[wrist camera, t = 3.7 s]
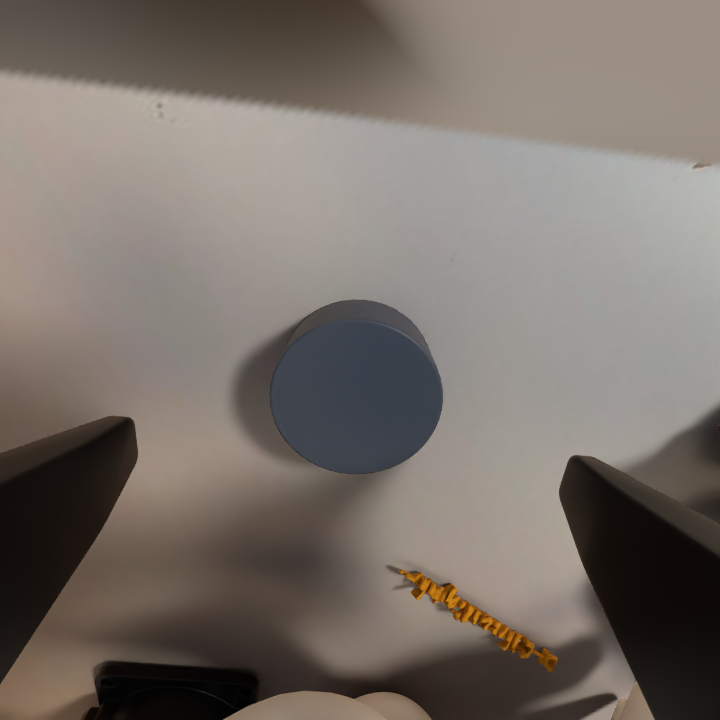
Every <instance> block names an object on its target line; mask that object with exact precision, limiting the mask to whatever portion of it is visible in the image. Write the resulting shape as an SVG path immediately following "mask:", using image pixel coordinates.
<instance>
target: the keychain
mask: <svg viewBox="0 0 720 720" xmlns="http://www.w3.org/2000/svg"><path fill="white" fill-rule="evenodd" d="M399 573H401V574H403V575H405V577H406V578H408V579H409V580H411V581H412V582H415V585H416V586H418V587H419V588H417V589H414V590H412V591H411V594H412V595H413V596H414V597H415V598H416V599H417V600H419V599H420V598H421V596H422V595H423V594H424V593H425V592H427V594H428V595H430V596H431V598H433V600H432V602H433V603H434V604H435V603H436V602H437V601H439V602H442V601H443V603H444V604H445V605H446V606H447V607H448V608H450V611H451V612H452V613H453V614H454V616H453V617H454V619H455V620H456V621H458V620H459V619H460V622H461V623H463V622H468V620H469V621H470V622H471V623H472V624H473V625H475V623H476V621H477V620H478V619H479V620H478V622H477V623H478V624H479V625H480V626H481V627H482V628H483V629H484V630H487V629H488V630H489V631H490V632H491V633H492V634H493V635H494V636H496V635H497V637H498V638H501V637H502V638H504V639H505V640H506V641H504V640H501V641H499V642H498V643H497V645H498V646H499V647H500V648H501V649H502V650H504V651H505V650H506V649H507V648H508V649H509V650H510V651H511V652H512V653H514V651H518V652H519V655H520V658H522V659H524V658H525V657H526V658H528V657H529V656H530V654H531V653H533V654H535V655H537V656H538V657H539V658H538V662H539V663H540V664H542V665H544V667H545V668H546V669H547V670H548V671H549V672H552V671H553V669H554V667H555V664H556V662H557V660H558V659H557V657H555V656H554V655H551V653H550V652H549V651H548V650H547V649H545V648H543V650H542V652H541V654H540V653H539V652H537V651H536V650H535V649H534V644H533V643H531V641H530V640H529V639H528V638H526V637H525V636H524V635H522V634H518V633H517V632H516V631H514V630H513V631H511V630H510V629H509V627H508V626H507V625H503V624H501V622H499V621H498V620H496V619H495V618H492V617H491V616H489V615H488V614H487V613H486V612H481V611H480V610H479V609H478V608H477V607H476V606H472V605H471V604H470V603H469V602H467V601H466V600H465V601H462V600H461V599H460V597H459V596H458V595H456V594H455V593H456V592H457V588H456V587H454V586H453V585H452V584H450V585H448V586H445V587H444V588H443V587H442V586H439V587H437V585H436V584H435V583H434V582H433V583H432V580H431V579H427V578H426V577H424V578H423V574H422V573H413V574H410V573H408V572H406V571H404V570H400V571H399ZM456 606H457V607H458V608H459V609H460V610H459V611H458V612H457V611H456V610H455V609H453V607H456ZM480 618H481V619H480ZM519 640H521V643H518V642H519ZM526 651H527V654H526Z"/></svg>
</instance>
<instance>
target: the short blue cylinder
mask: <svg viewBox="0 0 720 720" xmlns="http://www.w3.org/2000/svg"><path fill="white" fill-rule="evenodd" d="M442 403H443V389H442V383H441V378H440V375H439V373H438V370H437V367H436V365H435V362H434V360H433V357H432V355H431V353H430V350H429V348H428V345H427V343H426V341H425V339H424V337H423V335H422V334H421V333H420V331H419V330H418V328H417V327H416V326H415V325H414V324H413V323H412V322H411V321H410V320H409V319H408V318H407V317H406V316H404V315H403V314H402V313H400V312H398V311H397V310H395V309H393V308H391V307H389V306H386V305H384V304H381V303H377V302H373V301H367V300H347V301H341V302H336V303H333V304H330V305H327V306H325V307H323V308H321V309H319V310H317V311H315V312H314V313H312V314H311V315H310V316H308V317H307V318H306V319H305V320H304V321H303V322H302V323H301V324H300V325H299V326H298V327H297V328H296V330H295V331H294V332H293V334H292V336H291V337H290V339H289V341H288V343H287V345H286V347H285V349H284V351H283V353H282V355H281V357H280V359H279V361H278V363H277V365H276V367H275V370H274V372H273V376H272V380H271V384H270V406H271V411H272V415H273V418H274V421H275V424H276V426H277V428H278V430H279V432H280V433H281V435H282V436H283V438H284V439H285V441H286V442H287V443H288V444H289V445H290V446H291V447H292V449H293V450H295V451H296V452H297V453H298V454H299V455H300V456H302V457H303V458H305V459H306V460H308V461H309V462H311V463H313V464H315V465H317V466H319V467H322V468H325V469H327V470H331V471H335V472H339V473H346V474H367V473H374V472H379V471H383V470H386V469H389V468H392V467H394V466H396V465H398V464H400V463H402V462H404V461H405V460H407V459H409V458H410V457H411V456H413V455H414V454H415V453H417V452H418V451H419V450H420V449H421V448H422V447H423V446H424V444H425V443H426V442H427V441H428V439H429V438H430V436H431V435H432V433H433V431H434V430H435V428H436V425H437V423H438V421H439V418H440V414H441V410H442Z"/></svg>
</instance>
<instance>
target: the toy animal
mask: <svg viewBox="0 0 720 720" xmlns="http://www.w3.org/2000/svg"><path fill="white" fill-rule="evenodd" d="M223 720H432V719H431V718H430V716H429V715H428V714H427V713H426V712H425V711H424V710H423V709H422V708H421V707H420V706H419V705H418V704H417V703H415V702H414V701H412V700H411V699H409V698H407V697H405V696H403V695H400V694H396V693H391V692H377V693H371V694H366V695H363V696H360V697H358V698H355V699H352V698H349V697H346V696H342V695H338V694H335V693H329V692H315V691H299V692H292V693H285V694H279V695H276V696H274V697H271V698H268V699H265V700H263V701H260V702H257V703H255V704H252V705H250V706H247V707H245V708H244V709H242V710H240V711H238V712H236V713H234V714H232V715H231V716H229V717H227V718H225V719H223ZM611 720H654V718H653V716H652V713H651V711H650V709H649V707H648V705H647V703H646V700H645V698H644V696H643V694H642V692H641V690H640V688H639V685H638V683H637V681H636V680H635V683H634V685H633V687H632V690H631V692H630V695H629V697H628V699H627V700H626V699H621V700H620V701H619V702H618V704H617V707H616V709H615V711H614V714H613V716H612V719H611Z"/></svg>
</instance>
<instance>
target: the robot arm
mask: <svg viewBox="0 0 720 720" xmlns="http://www.w3.org/2000/svg"><path fill="white" fill-rule="evenodd" d="M137 458H138V448H137V439H136V431H135V424H134V421H133V420H132V419H131V418H129V417H121V416H108V417H105V418H102V419H99V420H96V421H93V422H90V423H87V424H84V425H82V426H79V427H76V428H73V429H70V430H67V431H64V432H61V433H58V434H55V435H52V436H49V437H47V438H44V439H41V440H38V441H35V442H32V443H29V444H26V445H23V446H20V447H17V448H14V449H12V450H9V451H6V452H3V453H0V684H1V682H2V681H3V679H4V678H5V676H6V675H7V673H8V671H9V670H10V668H11V667H12V665H13V664H14V662H15V661H16V659H17V658H18V656H19V655H20V653H21V652H22V650H23V649H24V647H25V646H26V644H27V643H28V641H29V640H30V638H31V637H32V635H33V633H34V632H35V630H36V629H37V627H38V626H39V624H40V623H41V621H42V620H43V618H44V617H45V615H46V614H47V612H48V611H49V609H50V608H51V606H52V605H53V603H54V602H55V600H56V599H57V597H58V596H59V594H60V592H61V591H62V589H63V588H64V586H65V585H66V583H67V582H68V580H69V579H70V577H71V576H72V574H73V573H74V571H75V570H76V568H77V567H78V565H79V564H80V562H81V561H82V559H83V558H84V556H85V554H86V553H87V551H88V550H89V548H90V547H91V545H92V544H93V542H94V541H95V539H96V538H97V536H98V534H99V533H100V531H101V530H102V528H103V526H104V524H105V522H106V521H107V519H108V517H109V515H110V513H111V511H112V509H113V507H114V505H115V503H116V501H117V499H118V498H119V496H120V494H121V492H122V490H123V488H124V486H125V484H126V482H127V480H128V478H129V476H130V474H131V472H132V470H133V468H134V467H135V464H136V462H137ZM559 496H560V501H561V504H562V507H563V510H564V512H565V515H566V518H567V521H568V524H569V527H570V530H571V533H572V536H573V538H574V541H575V544H576V547H577V550H578V553H579V556H580V558H581V561H582V564H583V566H584V569H585V571H586V573H587V575H588V578H589V580H590V582H591V584H592V586H593V589H594V591H595V593H596V595H597V597H598V599H599V602H600V604H601V606H602V608H603V610H604V612H605V614H606V617H607V619H608V621H609V623H610V625H611V627H612V629H613V632H614V634H615V636H616V638H617V640H618V642H619V645H620V647H621V649H622V651H623V653H624V655H625V657H626V660H627V662H628V664H629V666H630V668H631V670H632V673H633V675H634V677H635V679H636V681H637V683H638V685H639V688H640V690H641V692H642V694H643V696H644V698H645V700H646V703H647V705H648V707H649V709H650V711H651V713H652V716H653V718H654V720H720V523H718V522H716V521H714V520H712V519H710V518H708V517H706V516H704V515H702V514H701V513H699V512H697V511H695V510H693V509H691V508H689V507H687V506H685V505H684V504H682V503H680V502H678V501H676V500H674V499H672V498H670V497H668V496H666V495H665V494H663V493H661V492H659V491H657V490H655V489H653V488H651V487H649V486H648V485H646V484H644V483H642V482H640V481H638V480H636V479H634V478H632V477H630V476H629V475H627V474H625V473H623V472H621V471H619V470H617V469H615V468H613V467H612V466H610V465H608V464H606V463H604V462H602V461H600V460H598V459H596V458H594V457H591V456H580V455H574V456H572V457H571V458H570V459H569V461H568V463H567V466H566V469H565V472H564V475H563V478H562V481H561V485H560V488H559ZM95 686H96V690H97V695H98V700H99V705H100V707H93V706H92V707H91V708H90V709H89V710H87V711H86V712H85V713H84V715H83V717H82V719H81V720H223V719H225V718H227V717H229V716H231V715H232V714H234V713H236V712H238V711H240V710H242V709H244V708H245V707H247V706H250V705H252V704H255V703H257V702H259V680H258V679H257V678H256V677H255V676H253V675H249V674H237V673H223V672H209V671H194V670H180V669H166V668H151V667H137V666H123V665H105V666H103V667H102V668H101V670H100V671H99V673H98V675H97V677H96V679H95Z"/></svg>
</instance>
